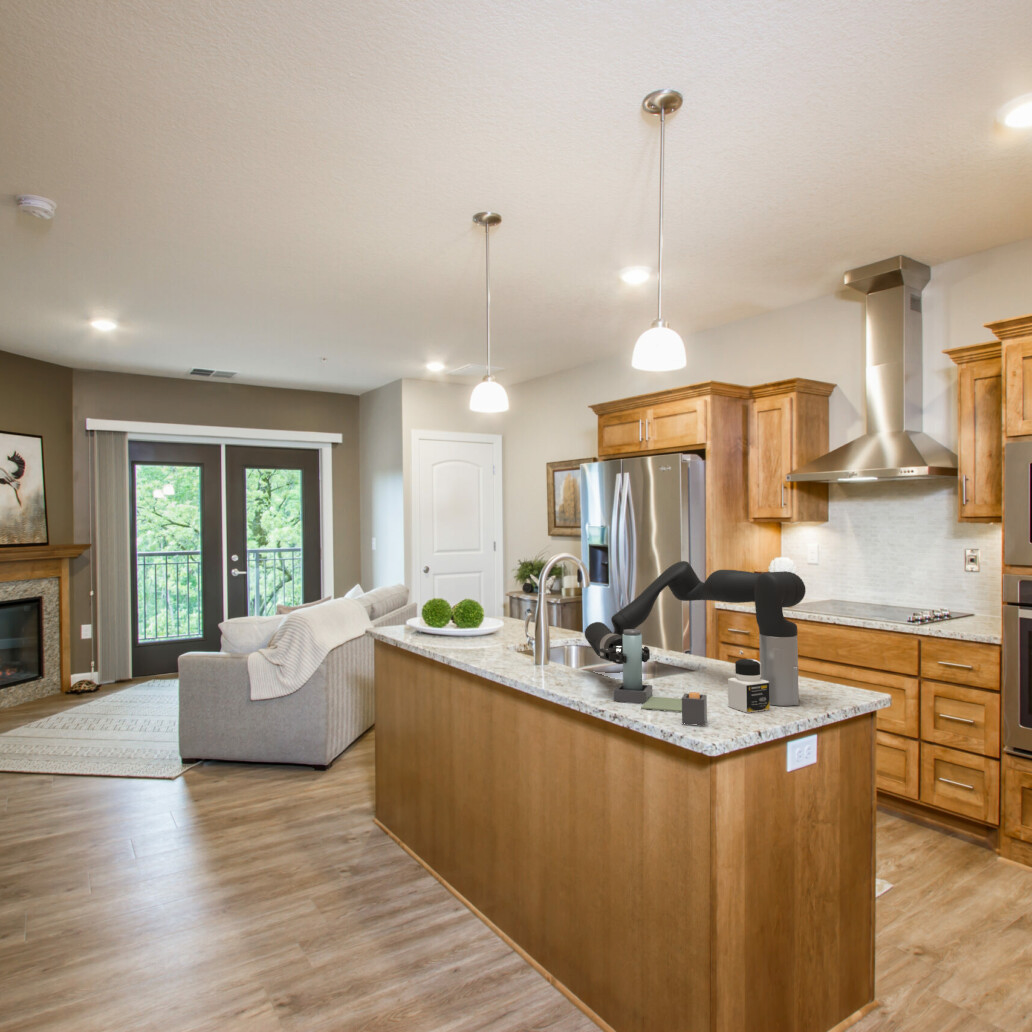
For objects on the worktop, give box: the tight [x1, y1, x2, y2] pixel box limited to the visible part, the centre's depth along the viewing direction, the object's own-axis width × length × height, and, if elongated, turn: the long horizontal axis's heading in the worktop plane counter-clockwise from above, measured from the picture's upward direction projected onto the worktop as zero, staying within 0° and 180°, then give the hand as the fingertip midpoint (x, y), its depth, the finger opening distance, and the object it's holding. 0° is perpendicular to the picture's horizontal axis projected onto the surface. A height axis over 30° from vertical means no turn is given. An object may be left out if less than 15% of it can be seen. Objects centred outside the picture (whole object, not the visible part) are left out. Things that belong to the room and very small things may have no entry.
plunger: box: [688, 691, 700, 699], centre depth 169 cm, size 2×2×6 cm
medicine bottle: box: [727, 658, 771, 714], centre depth 181 cm, size 7×7×12 cm
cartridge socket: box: [613, 682, 653, 704], centre depth 192 cm, size 8×8×3 cm
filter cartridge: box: [622, 628, 643, 691], centre depth 192 cm, size 5×5×16 cm
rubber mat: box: [640, 696, 682, 713], centre depth 185 cm, size 12×12×1 cm
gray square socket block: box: [681, 693, 708, 726], centre depth 169 cm, size 5×5×6 cm
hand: (635, 658), depth 190 cm, fingers closed on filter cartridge, 5 cm apart
